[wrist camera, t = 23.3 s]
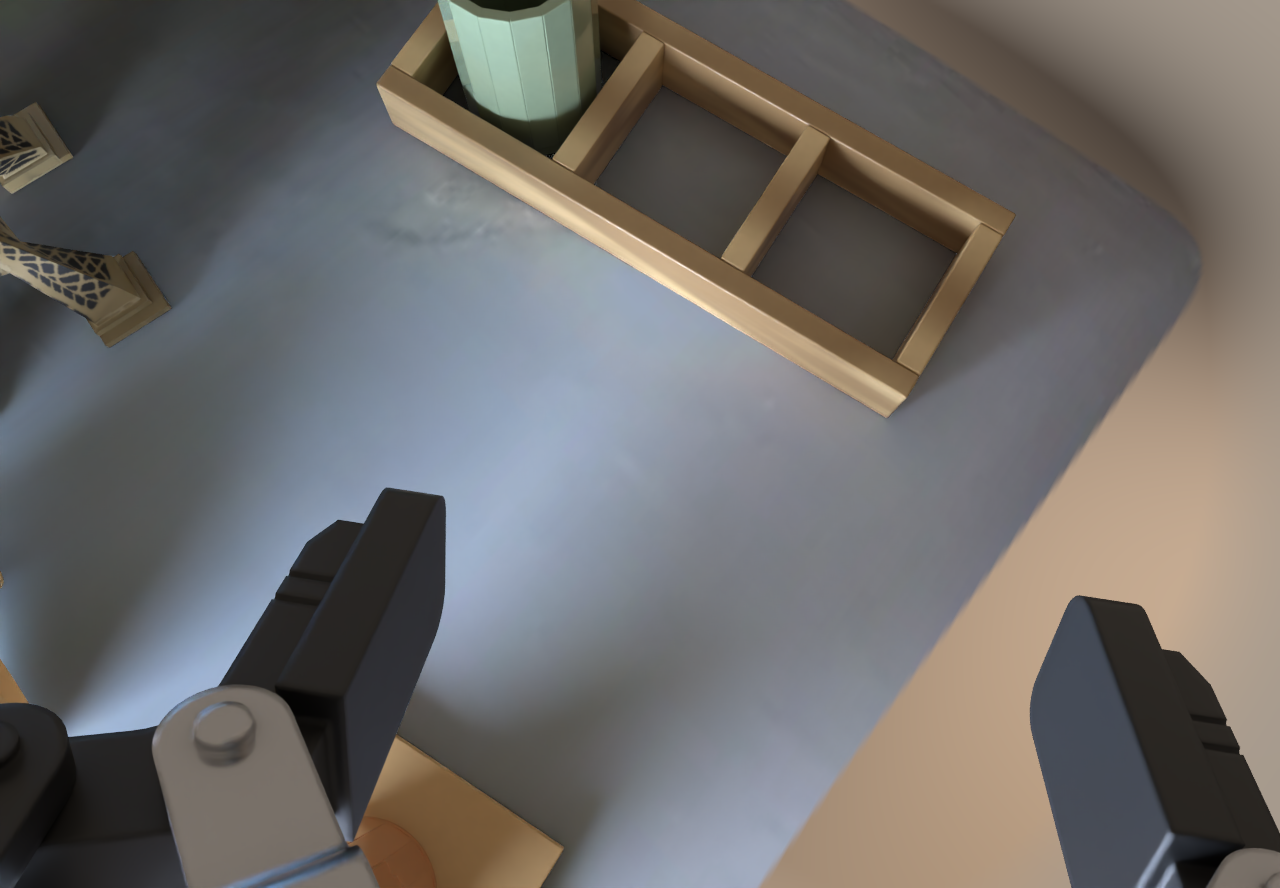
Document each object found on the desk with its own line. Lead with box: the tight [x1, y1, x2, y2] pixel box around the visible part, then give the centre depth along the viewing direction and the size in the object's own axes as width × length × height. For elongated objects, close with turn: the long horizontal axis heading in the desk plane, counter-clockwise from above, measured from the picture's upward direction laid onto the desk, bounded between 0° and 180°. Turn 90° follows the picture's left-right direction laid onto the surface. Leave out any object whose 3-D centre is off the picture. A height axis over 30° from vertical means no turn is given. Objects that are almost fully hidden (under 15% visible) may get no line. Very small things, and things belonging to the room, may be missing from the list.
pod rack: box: [376, 0, 1016, 418], centre depth 41 cm, size 8×23×3 cm, turn 58°
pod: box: [438, 0, 602, 155], centre depth 39 cm, size 5×5×9 cm
